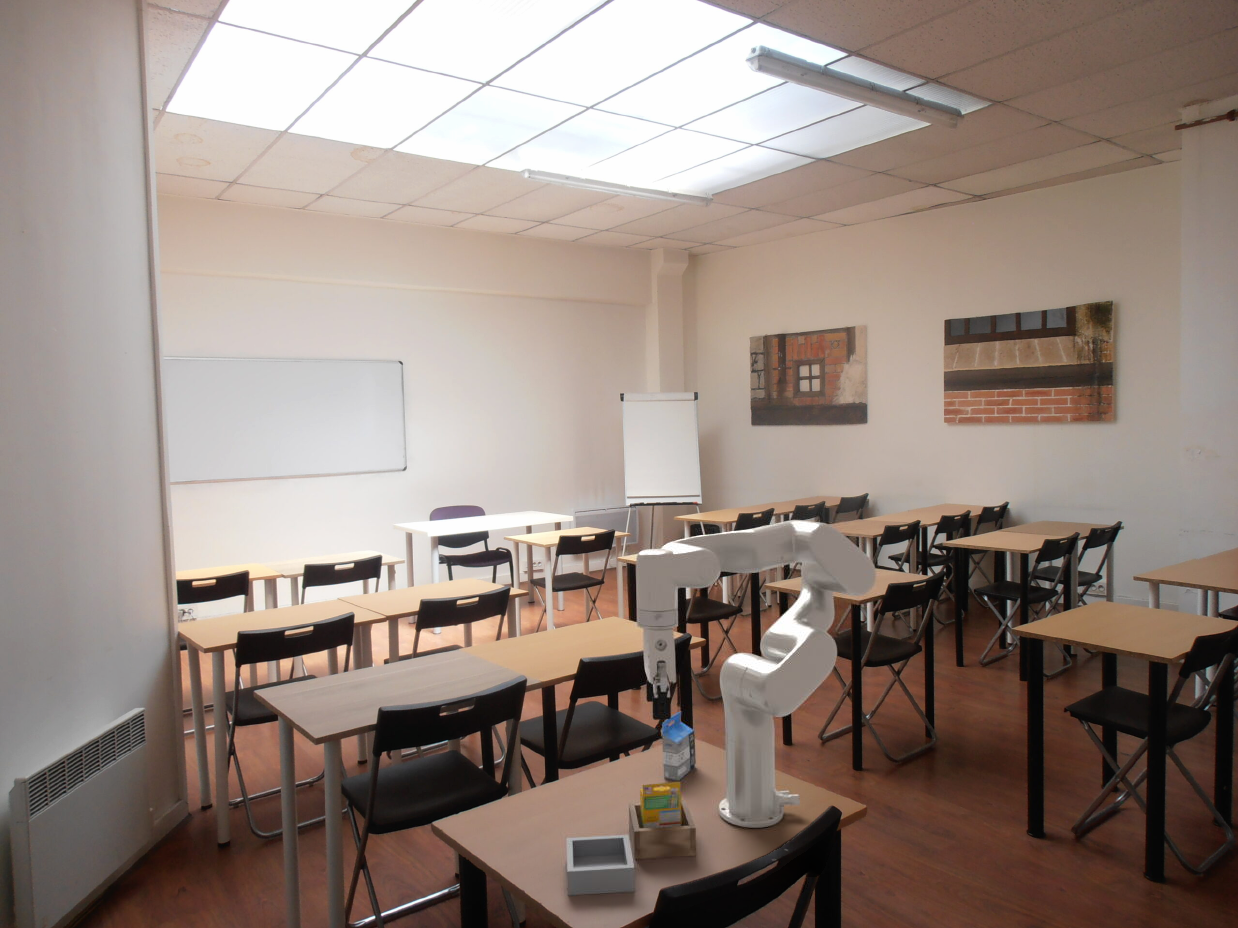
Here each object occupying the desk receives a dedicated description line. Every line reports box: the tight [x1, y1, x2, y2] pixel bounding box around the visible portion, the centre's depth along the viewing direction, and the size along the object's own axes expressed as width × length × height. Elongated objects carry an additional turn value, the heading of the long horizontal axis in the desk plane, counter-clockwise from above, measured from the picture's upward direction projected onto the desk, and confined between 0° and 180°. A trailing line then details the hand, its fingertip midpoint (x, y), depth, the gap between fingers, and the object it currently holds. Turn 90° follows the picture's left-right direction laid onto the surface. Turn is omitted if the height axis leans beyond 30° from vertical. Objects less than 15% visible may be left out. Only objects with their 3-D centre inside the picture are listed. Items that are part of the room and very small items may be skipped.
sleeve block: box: [628, 799, 697, 860], centre depth 148 cm, size 11×11×5 cm
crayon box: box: [639, 781, 682, 828], centre depth 148 cm, size 7×3×12 cm, turn 98°
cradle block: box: [566, 834, 636, 896], centre depth 137 cm, size 11×11×4 cm
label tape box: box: [661, 710, 697, 782], centre depth 178 cm, size 9×4×12 cm, turn 149°
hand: (658, 709), depth 147 cm, fingers open, 9 cm apart
